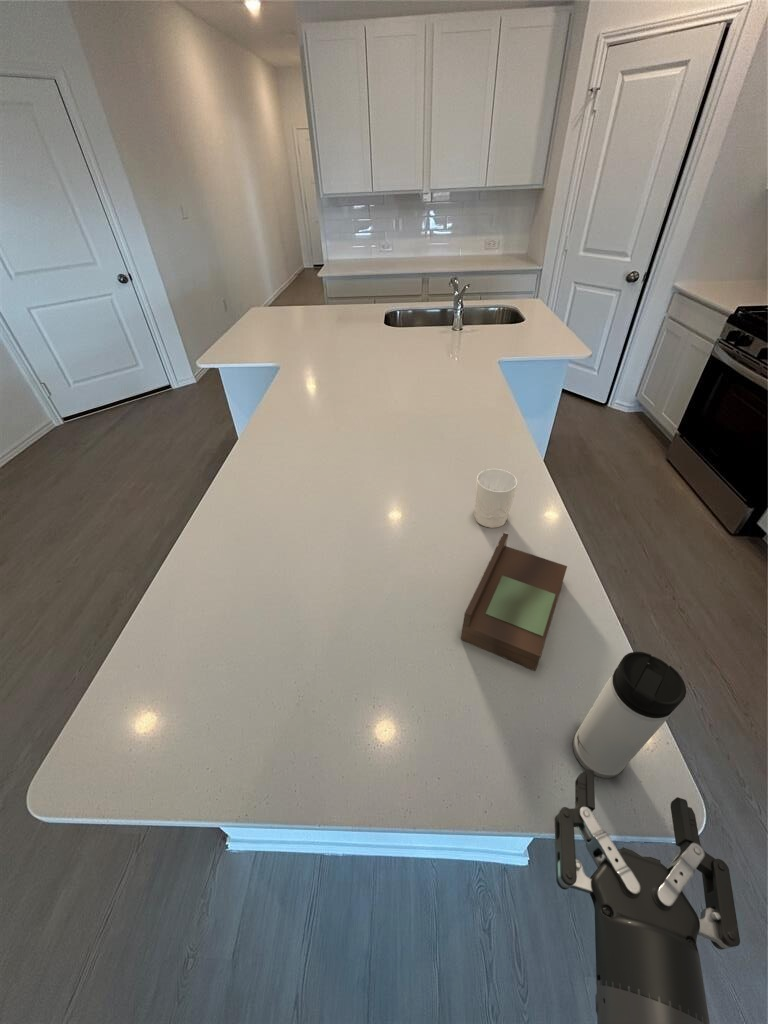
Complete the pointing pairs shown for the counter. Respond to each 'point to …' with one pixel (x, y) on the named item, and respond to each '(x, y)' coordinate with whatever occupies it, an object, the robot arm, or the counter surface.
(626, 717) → the travel mug
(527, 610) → the wooden coaster base
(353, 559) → the counter surface
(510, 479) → the white cup
